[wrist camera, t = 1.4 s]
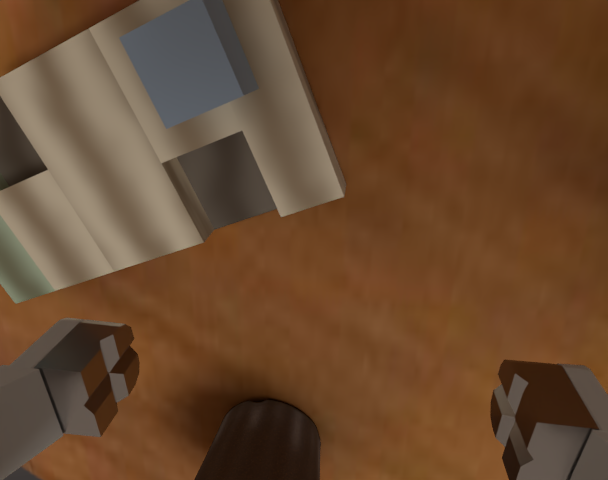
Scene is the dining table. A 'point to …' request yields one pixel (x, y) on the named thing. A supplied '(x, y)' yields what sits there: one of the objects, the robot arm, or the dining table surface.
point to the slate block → (190, 60)
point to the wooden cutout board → (148, 153)
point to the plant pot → (263, 445)
